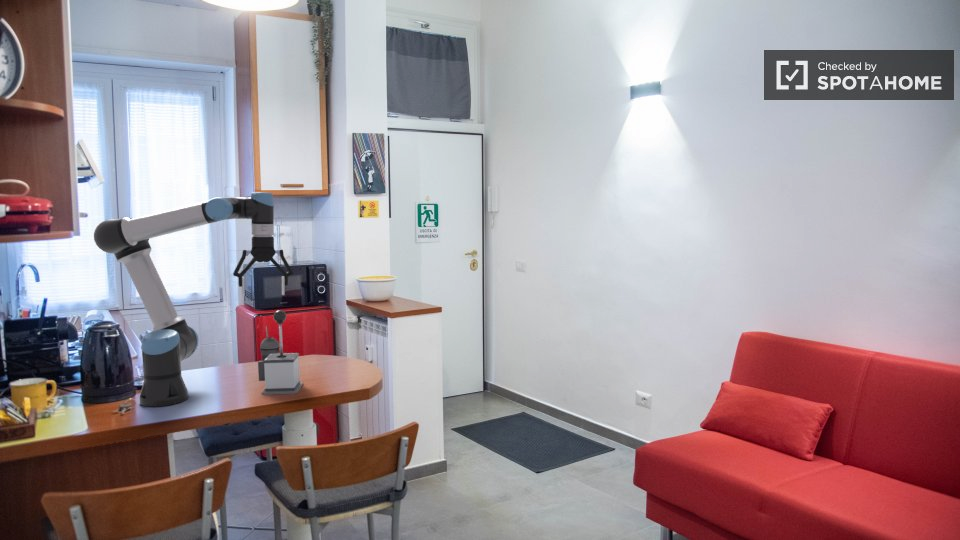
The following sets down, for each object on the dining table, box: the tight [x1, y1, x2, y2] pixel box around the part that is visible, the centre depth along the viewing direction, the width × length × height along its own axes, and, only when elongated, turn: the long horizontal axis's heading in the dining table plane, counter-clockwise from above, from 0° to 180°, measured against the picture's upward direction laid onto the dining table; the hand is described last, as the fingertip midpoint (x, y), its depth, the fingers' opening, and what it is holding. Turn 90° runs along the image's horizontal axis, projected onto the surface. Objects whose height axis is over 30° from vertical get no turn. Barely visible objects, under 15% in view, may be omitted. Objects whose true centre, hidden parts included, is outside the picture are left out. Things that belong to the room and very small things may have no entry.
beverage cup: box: [259, 325, 280, 361], centre depth 261 cm, size 7×7×20 cm
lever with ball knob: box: [273, 309, 287, 358], centre depth 243 cm, size 8×8×20 cm
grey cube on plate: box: [257, 352, 304, 396], centre depth 245 cm, size 14×12×12 cm
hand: (263, 295), depth 245 cm, fingers open, 13 cm apart
